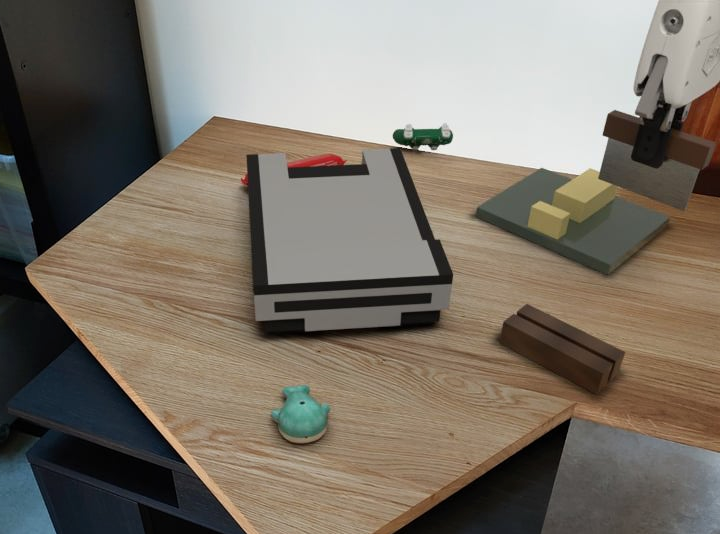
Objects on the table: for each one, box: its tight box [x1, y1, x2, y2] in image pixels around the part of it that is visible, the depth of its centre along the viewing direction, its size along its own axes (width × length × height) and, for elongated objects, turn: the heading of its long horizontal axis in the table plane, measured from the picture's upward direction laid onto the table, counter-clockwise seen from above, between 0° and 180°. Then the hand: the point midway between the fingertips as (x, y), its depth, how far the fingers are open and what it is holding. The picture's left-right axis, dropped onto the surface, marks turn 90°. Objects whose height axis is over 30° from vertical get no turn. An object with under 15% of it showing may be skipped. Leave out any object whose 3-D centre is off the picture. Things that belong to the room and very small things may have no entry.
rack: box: [498, 303, 626, 395], centre depth 83 cm, size 12×5×3 cm, turn 46°
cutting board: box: [475, 167, 671, 276], centre depth 104 cm, size 20×16×2 cm
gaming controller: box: [392, 122, 454, 152], centre depth 120 cm, size 9×4×6 cm
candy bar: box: [240, 153, 348, 186], centre depth 112 cm, size 16×4×3 cm, turn 118°
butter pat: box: [527, 201, 570, 240], centre depth 99 cm, size 4×2×3 cm, turn 46°
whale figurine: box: [270, 384, 331, 444], centre depth 75 cm, size 6×7×4 cm
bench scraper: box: [598, 109, 717, 212], centre depth 80 cm, size 11×2×7 cm, turn 46°
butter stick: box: [552, 168, 618, 223], centre depth 104 cm, size 4×9×3 cm, turn 136°
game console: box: [245, 147, 454, 335], centre depth 95 cm, size 21×32×8 cm, turn 6°
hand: (651, 158), depth 80 cm, fingers closed on bench scraper, 1 cm apart
